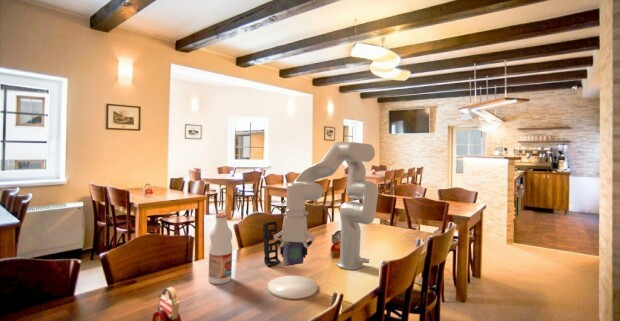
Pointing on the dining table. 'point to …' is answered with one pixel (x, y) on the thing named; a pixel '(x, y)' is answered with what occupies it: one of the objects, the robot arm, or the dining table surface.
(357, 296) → the dining table surface
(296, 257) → the flask
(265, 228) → the holder
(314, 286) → the plate
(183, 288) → the dining table surface
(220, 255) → the fruit juice
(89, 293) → the dining table surface
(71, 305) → the dining table surface
